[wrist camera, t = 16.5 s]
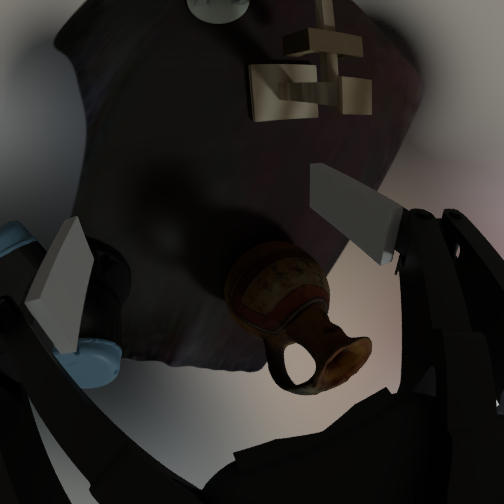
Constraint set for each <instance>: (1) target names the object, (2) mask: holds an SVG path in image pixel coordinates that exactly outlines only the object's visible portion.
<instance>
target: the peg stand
mask: <svg viewBox="0 0 504 504" xmlns="http://www.w3.org/2000/svg"><path fill="white" fill-rule="evenodd" d="M315 8H316V17H317V27H318V29H321V30H328V31H334V32H335V24H334V14H333V6H332V0H315ZM320 67H321V82H317V74H316V65H298V64H253V65H248V68H249V79H250V91H251V103H252V116H253V121H254V122H259V121H269V120H281V119H296V118H318V104H323V105H330V106H337V107H338V113H340V114H363V115H372V82H371V80H367V79H360V78H351V77H338V62H337V55H335V54H327V53H320Z"/></svg>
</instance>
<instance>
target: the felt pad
mask: <svg viewBox="0 0 504 504" xmlns="http://www.w3.org/2000/svg"><path fill="white" fill-rule="evenodd" d="M187 5H188V8H189V10H190V11H191V13H192V14H193V15H194V16H196V17H197V18H198V19H200V20H202V21H205V22H208V23H213V24H224V23H229V22H232V21H234V20H236V19H238V18H239V17H240V16H242V15H243V14H244V13H245V11H246V10H247V8H248V5H249V2H248V3H246V4H245V5H231V0H211V3H210V5H209V6H196V7H195V1H194V0H187Z"/></svg>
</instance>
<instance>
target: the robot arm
mask: <svg viewBox="0 0 504 504" xmlns="http://www.w3.org/2000/svg"><path fill="white" fill-rule="evenodd" d="M310 208H312V209H313V210H314V211H315V212H317V213H318V214H319V215H321V216H322V217H323V218H324V219H326V220H327V221H328V222H329V223H330V224H332V225H333V226H334V227H335V228H337V229H338V230H339V231H340V232H341V233H343V234H344V235H345V236H346V237H348V238H349V239H350V240H351V241H352V242H354V243H355V244H356V245H357V246H358V247H360V248H361V249H362V250H363V251H364V252H365V253H366V254H367V255H369V256H370V257H371V258H372V259H373V260H374V261H376V262H377V263H378V264H379V265H380V266H381V265H383V264H386V263H388V262H391V261H392V259H393V255H394V250H396V251H397V252H399V253H400V255H399V259H398V263H397V267H396V271H395V275H397V272H398V271H399V276H400V290H401V309H402V365H401V382H400V386H399V389H398V391H397V393H395V394H391V393H390V391H389V390H388V389H387V387H385V388H383V389H382V390H380V391H378V392H376V393H375V394H373V395H371V396H369V397H368V398H366V399H364V400H362V401H360V402H359V403H357V404H355V405H354V406H353V407H351V408H350V409H349V410H348V411H347V412H346V413H345V414H343V415H342V416H341V417H340V418H339V419H338V420H336V421H335V422H334V423H333V424H332V425H330V426H329V427H328V428H327V429H325V430H324V431H322V432H319V433H315V434H309V435H303V436H296V437H291V438H283V439H275V440H272V441H270V442H267V443H263V444H260V445H257V446H254V447H251V448H248V449H245V450H241V451H237V452H234V453H233V455H234V457H235V461H234V462H231V463H230V464H228V465H226V466H225V467H224V468H222V469H221V470H219V471H218V472H217V473H216V474H215V475H214V476H213V477H212V478H211V479H210V480H209V481H208V482H207V483H206V485H205V486H204V488H203V489H202V490H201V489H199V488H197V487H196V486H194V485H193V484H191V483H189V482H188V481H186V480H185V479H183V478H182V477H180V476H178V475H177V474H175V473H174V472H172V471H171V470H169V469H168V468H166V467H165V466H164V465H162V464H161V463H160V462H159V461H157V460H156V459H155V458H153V457H152V456H151V455H149V454H148V453H147V452H146V451H145V450H143V449H142V448H141V447H140V446H139V445H137V444H136V443H135V442H134V441H133V440H132V439H130V438H129V437H128V436H127V435H126V434H125V433H124V432H123V431H122V430H121V429H119V428H118V427H117V426H116V425H115V424H114V423H113V422H112V421H111V420H110V419H109V418H108V417H107V416H106V415H105V414H104V413H103V412H102V411H101V410H100V409H99V408H98V407H97V406H96V405H95V404H94V402H93V401H92V400H91V399H90V398H89V397H88V396H87V395H86V394H85V393H84V391H83V390H82V389H81V388H96V387H100V386H103V385H106V384H108V383H110V382H111V381H113V380H114V379H115V377H116V376H117V375H118V373H119V369H120V357H121V355H122V354H121V353H122V351H121V309H122V307H123V305H124V303H125V301H126V300H127V298H128V296H129V294H130V290H131V271H130V267H129V265H128V263H127V261H126V260H125V259H124V257H123V256H122V255H121V254H120V253H119V252H118V251H116V250H115V249H113V248H112V247H110V246H108V245H105V244H102V243H98V242H87V241H86V238H85V235H84V233H83V230H82V227H81V225H80V222H79V219H78V216H75V217H72V218H69V219H66V220H65V222H64V223H63V225H62V227H61V228H60V230H59V232H58V233H57V235H56V237H55V239H54V241H53V243H52V244H51V247H50V248H49V250H48V252H46V250H45V249H44V248H43V247H42V246H41V245H40V244H39V242H38V241H37V238H35V237H33V236H32V235H31V234H30V233H29V232H28V231H27V229H26V228H25V227H24V226H23V225H22V224H21V223H20V222H17V221H11V222H8V223H7V224H5V225H4V226H3V227H1V228H0V504H72V503H71V502H70V500H69V498H68V496H67V494H66V493H65V491H64V489H63V487H62V485H61V483H60V481H59V479H58V477H57V475H56V473H55V471H54V468H53V466H52V464H51V462H50V459H49V457H48V455H47V452H46V450H45V447H44V445H43V442H42V439H41V437H40V434H39V431H38V428H37V425H36V422H35V419H34V416H33V413H32V409H31V406H30V402H29V398H30V400H31V402H32V404H33V405H34V407H35V409H36V410H37V412H38V414H39V415H40V417H41V418H42V420H43V422H44V423H45V425H46V426H47V428H48V429H49V431H50V432H51V434H52V435H53V437H54V438H55V440H56V441H57V442H58V444H59V445H60V446H61V448H62V449H63V450H64V452H65V453H66V454H67V456H68V457H69V458H70V459H71V461H72V462H73V463H74V464H75V465H76V467H77V468H78V469H79V470H80V472H81V473H82V474H83V475H84V476H85V477H86V479H87V480H88V481H89V482H90V485H91V486H90V488H89V490H90V492H91V494H92V496H93V497H94V498H95V499H96V501H97V502H98V503H99V504H504V260H503V259H502V258H501V256H500V255H499V254H498V253H497V251H496V250H495V249H494V248H493V247H492V245H491V244H490V243H489V242H488V241H487V240H486V238H485V237H484V236H483V235H482V234H481V233H480V231H479V230H478V229H477V228H476V227H475V226H474V225H473V224H472V223H471V222H470V221H469V220H468V218H467V217H466V216H464V215H463V214H462V213H461V212H459V211H458V210H455V209H444V212H443V215H442V218H438V219H437V218H435V217H434V215H433V214H432V213H430V212H428V211H426V210H423V209H411V210H410V211H408V210H407V209H405V208H404V207H403V206H401V205H399V204H398V203H396V202H394V201H392V200H391V199H389V198H387V197H386V196H384V195H382V194H380V193H379V192H377V191H375V190H373V189H371V188H370V187H368V186H366V185H364V184H362V183H360V182H359V181H357V180H355V179H353V178H351V177H349V176H347V175H345V174H343V173H341V172H339V171H337V170H335V169H333V168H331V167H329V166H327V165H325V164H323V163H316V164H310ZM458 246H460V254H459V257H458V258H457V256H456V252H457V249H458ZM28 397H29V398H28ZM496 400H497V401H498V403H499V405H498V406H496Z"/></svg>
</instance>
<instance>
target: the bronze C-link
mask: <svg viewBox="0 0 504 504" xmlns="http://www.w3.org/2000/svg"><path fill="white" fill-rule="evenodd" d="M282 41H283V53H284V56H303V54H307V53H312V52H318V53H327V54H335V55H337V59H342V58H359V57H363V48H362V37H359V36H355V35H350V34H345V33H340V32H334V31H328V30H321V29H314V28H306V29H303V30H300V31H297V32H294V33H291V34H288V35H285V36H283V37H282Z"/></svg>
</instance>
